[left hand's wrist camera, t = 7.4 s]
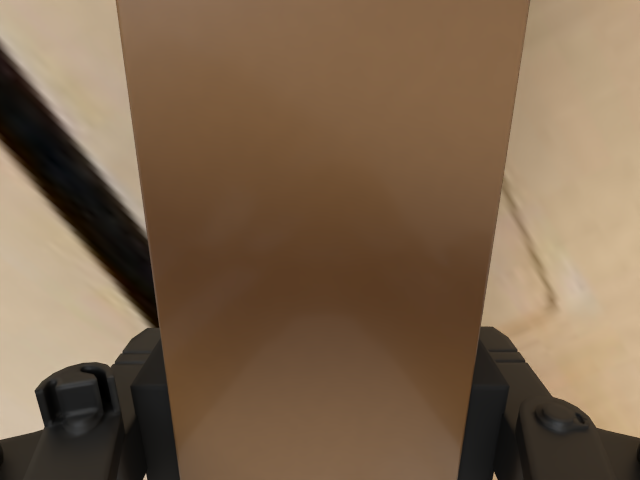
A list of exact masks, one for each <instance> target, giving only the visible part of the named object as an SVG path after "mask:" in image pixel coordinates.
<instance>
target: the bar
mask: <svg viewBox="0 0 640 480" xmlns="http://www.w3.org/2000/svg"><path fill="white" fill-rule="evenodd" d="M529 4H530V0H116V5H117V13H118V20H119V28H120V35H121V43H122V50H123V58H124V65H125V73H126V80H127V87H128V95H129V102H130V110H131V117H132V125H133V132H134V140H135V147H136V155H137V162H138V170H139V177H140V185H141V192H142V199H143V207H144V214H145V222H146V229H147V237H148V244H149V252H150V259H151V267H152V274H153V282H154V289H155V296H156V304H157V311H158V319H159V326H160V334H161V341H162V349H163V356H164V364H165V371H166V379H167V386H168V394H169V401H170V408H171V416H172V423H173V431H174V438H175V446H176V453H177V461H178V468H179V476H180V480H457V478H458V472H459V465H460V459H461V452H462V445H463V439H464V432H465V426H466V419H467V413H468V406H469V399H470V393H471V386H472V380H473V373H474V366H475V360H476V353H477V347H478V340H479V333H480V327H481V320H482V314H483V307H484V300H485V294H486V287H487V281H488V274H489V268H490V261H491V254H492V248H493V241H494V235H495V228H496V221H497V215H498V208H499V202H500V195H501V188H502V182H503V175H504V169H505V162H506V155H507V149H508V142H509V136H510V129H511V122H512V116H513V109H514V103H515V96H516V90H517V83H518V76H519V70H520V63H521V57H522V50H523V43H524V37H525V30H526V24H527V17H528V10H529Z"/></svg>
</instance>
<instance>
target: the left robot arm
mask: <svg viewBox="0 0 640 480" xmlns="http://www.w3.org/2000/svg"><path fill="white" fill-rule="evenodd" d="M35 394H36V397H37V401H38V404H39V408H40V412H41V415H42V419H43V422H44V426H45V427H44V430H40V431H37V432H33V433H29V434H25V435H20V436H16V437H11V438H7V439H3V440H0V480H143V478H144V476H145V474H146V475H147V480H180V476H179V468H178V461H177V453H176V446H175V438H174V431H173V423H172V416H171V408H170V401H169V394H168V386H167V379H166V371H165V364H164V356H163V349H162V341H161V334H160V328H147V329H145V330H144V331H142V332H141V333H140V334H138V335H137V336H135V337H134V338H132V339H131V341H130V342H129V343H128V345H127V346H126V347H125V349H124V350H123V353H122V354H120V355H119V357H118V358H117V360H116V361H115V364H113V365H112V366H111V368H110V367H109V366H108V365H106V364H102V363H97V362H92V363H81V364H77V365H73V366H69V367H66V368H64V369H62V370H60V371H58V372H55V373H53V374H52V375H51V376H49V377H48V378H46V379H45V380H43V381H42V382H41V383H40V385H39V386H38V387H37V388H36V390H35ZM494 472H495V474H496V477H497V479H498V480H640V438H637V437H632V436H628V435H623V434H619V433H615V432H610V431H606V430H602V429H599V428H596V427H595V425H594V423H593V422H592V421H591V419H590V418H589V416H588V415H586V414H585V413H584V412H583V411H581V410H580V409H579V408H578V407H576V406H574V405H572V404H570V403H568V402H566V401H564V400H561V399H558V398H554V397H552V396H551V394H550V393H549V392H548V390H547V389H546V388H545V386H544V385H543V383H542V382H541V381H540V379H539V378H538V377H537V375H536V374H535V373H534V371H533V370H532V369H531V367H530V366H529V365H528V363H525V359H524V358H523V357H522V355H521V354H520V353H519V352H517V349H516V347H515V346H514V345H513V343H512V342H511V341H510V339H509V338H508V337H507V336H505V335H504V334H502V333H501V332H500V331H498V330H497V329H495V328H494V327H480V333H479V340H478V347H477V353H476V360H475V366H474V373H473V380H472V386H471V393H470V399H469V406H468V413H467V419H466V426H465V432H464V439H463V445H462V452H461V459H460V465H459V472H458V478H457V480H492V479H493V473H494Z"/></svg>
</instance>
